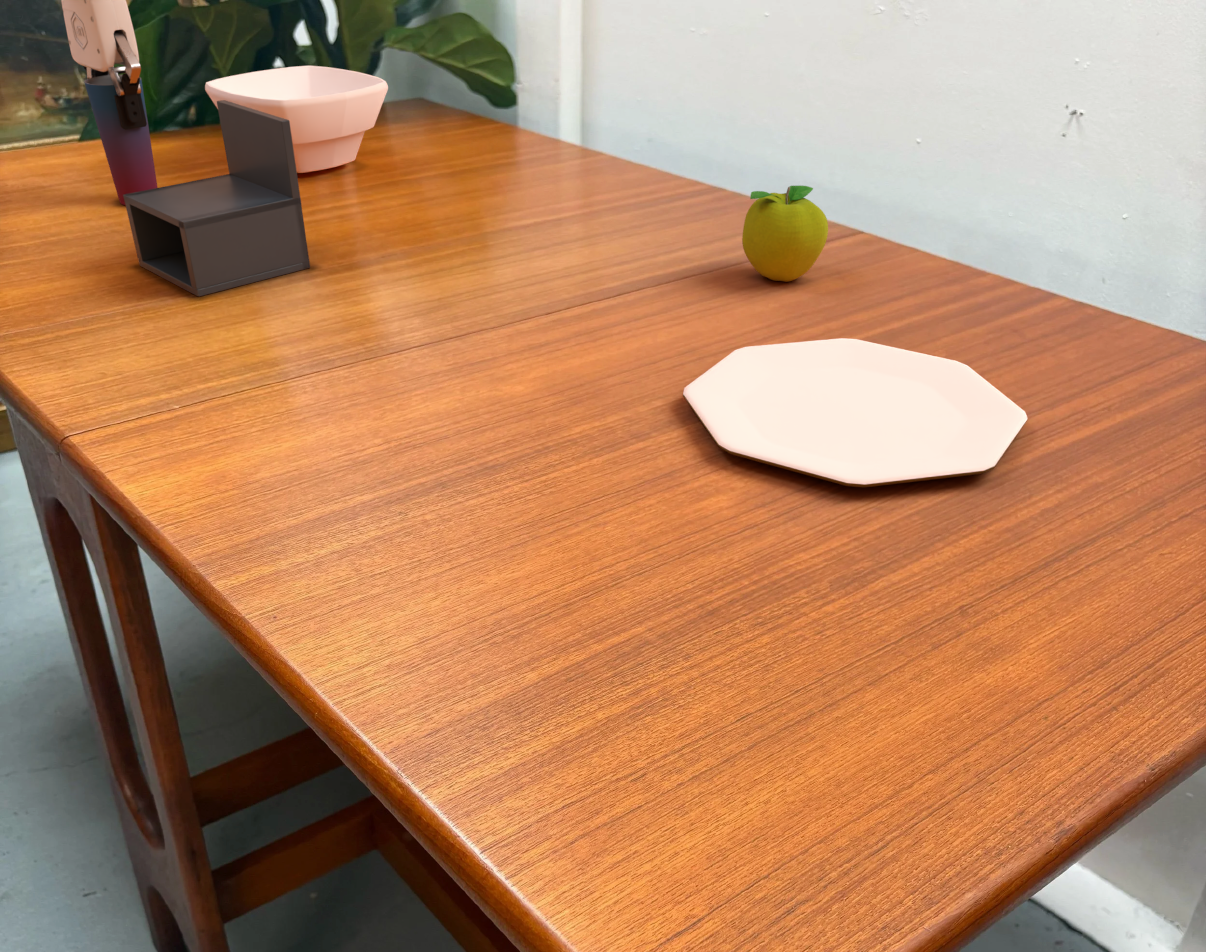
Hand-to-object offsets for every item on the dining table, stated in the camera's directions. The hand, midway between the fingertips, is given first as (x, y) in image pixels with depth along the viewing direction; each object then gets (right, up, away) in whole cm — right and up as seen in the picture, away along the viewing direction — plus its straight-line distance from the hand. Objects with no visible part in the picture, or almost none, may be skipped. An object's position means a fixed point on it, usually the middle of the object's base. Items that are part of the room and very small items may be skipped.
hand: (122, 121), depth 147 cm
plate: (+84, -46, -47) cm, 107 cm away
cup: (0, -8, +6) cm, 10 cm away
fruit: (+82, -25, -18) cm, 88 cm away
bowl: (+19, +2, +21) cm, 28 cm away
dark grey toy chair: (+19, -23, -16) cm, 34 cm away
